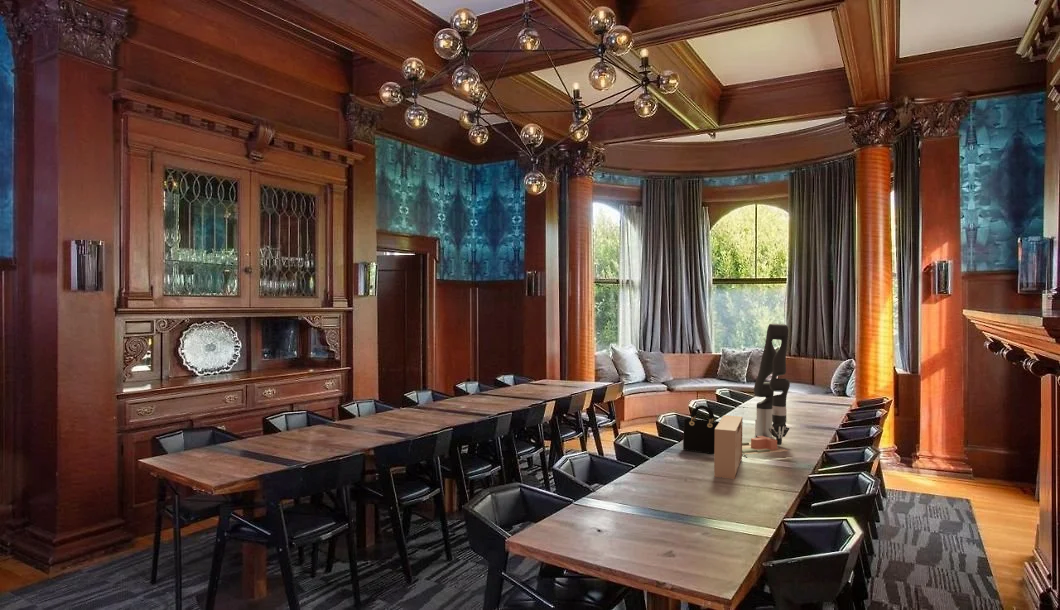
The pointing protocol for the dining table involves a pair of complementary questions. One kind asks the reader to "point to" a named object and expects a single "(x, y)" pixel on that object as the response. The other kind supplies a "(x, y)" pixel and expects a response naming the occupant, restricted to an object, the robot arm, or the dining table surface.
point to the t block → (763, 443)
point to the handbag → (699, 432)
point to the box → (728, 446)
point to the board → (748, 450)
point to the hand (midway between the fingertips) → (778, 444)
